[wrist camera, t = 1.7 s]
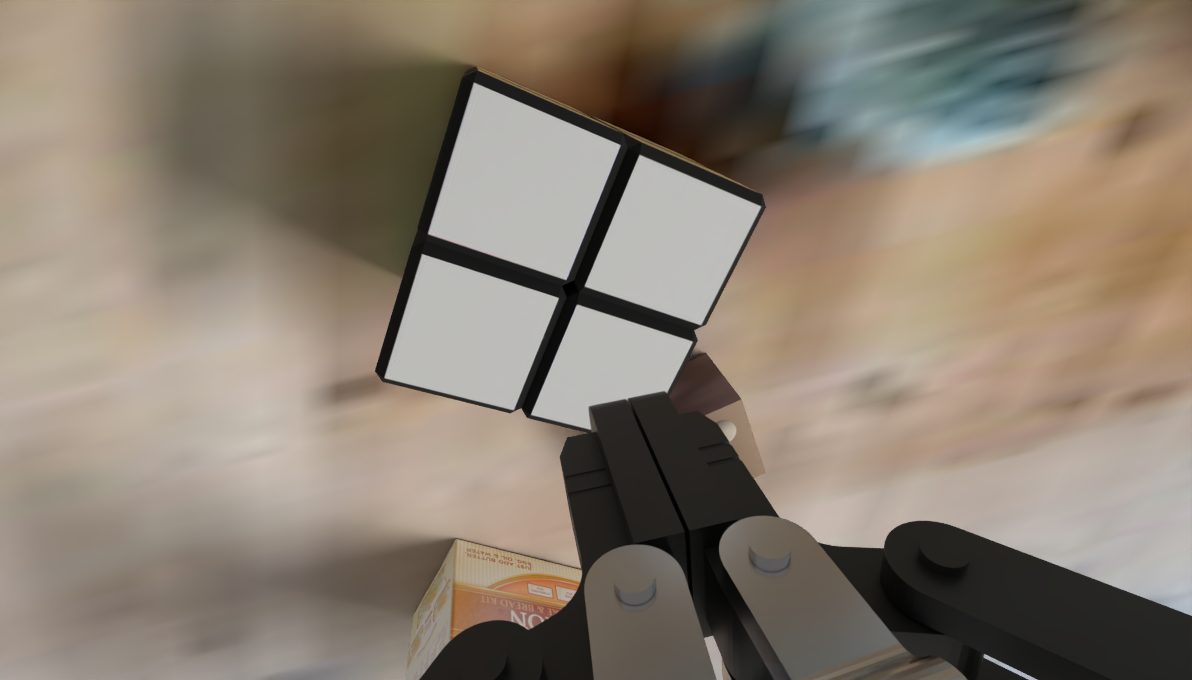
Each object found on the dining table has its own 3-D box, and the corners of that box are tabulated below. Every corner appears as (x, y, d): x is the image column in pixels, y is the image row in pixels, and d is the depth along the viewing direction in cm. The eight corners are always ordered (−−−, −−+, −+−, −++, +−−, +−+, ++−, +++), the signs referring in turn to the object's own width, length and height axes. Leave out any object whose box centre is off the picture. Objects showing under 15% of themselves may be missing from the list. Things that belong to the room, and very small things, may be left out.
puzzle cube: (597, 337, 31) (646, 452, 22) (404, 279, 27) (370, 385, 19) (679, 153, 27) (775, 199, 18) (469, 62, 24) (464, 64, 15)
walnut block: (705, 352, 32) (741, 400, 28) (728, 419, 35) (765, 473, 30) (622, 388, 32) (645, 442, 28) (651, 453, 35) (677, 512, 30)
